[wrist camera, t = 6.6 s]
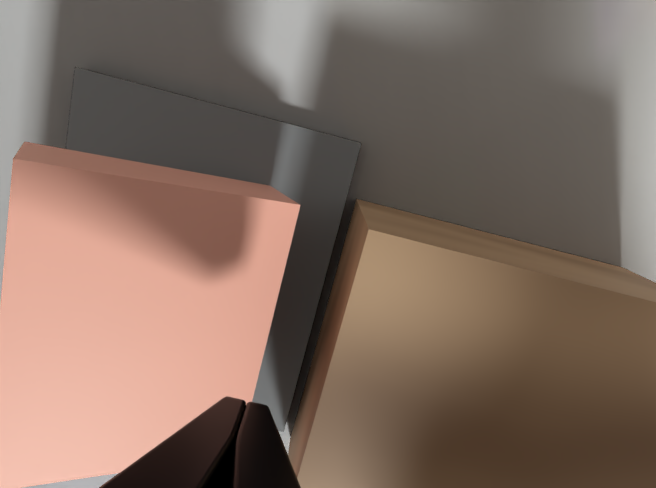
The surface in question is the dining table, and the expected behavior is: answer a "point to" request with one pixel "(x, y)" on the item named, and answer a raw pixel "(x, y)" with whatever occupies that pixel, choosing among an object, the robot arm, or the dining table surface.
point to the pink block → (127, 306)
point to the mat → (241, 164)
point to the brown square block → (476, 365)
